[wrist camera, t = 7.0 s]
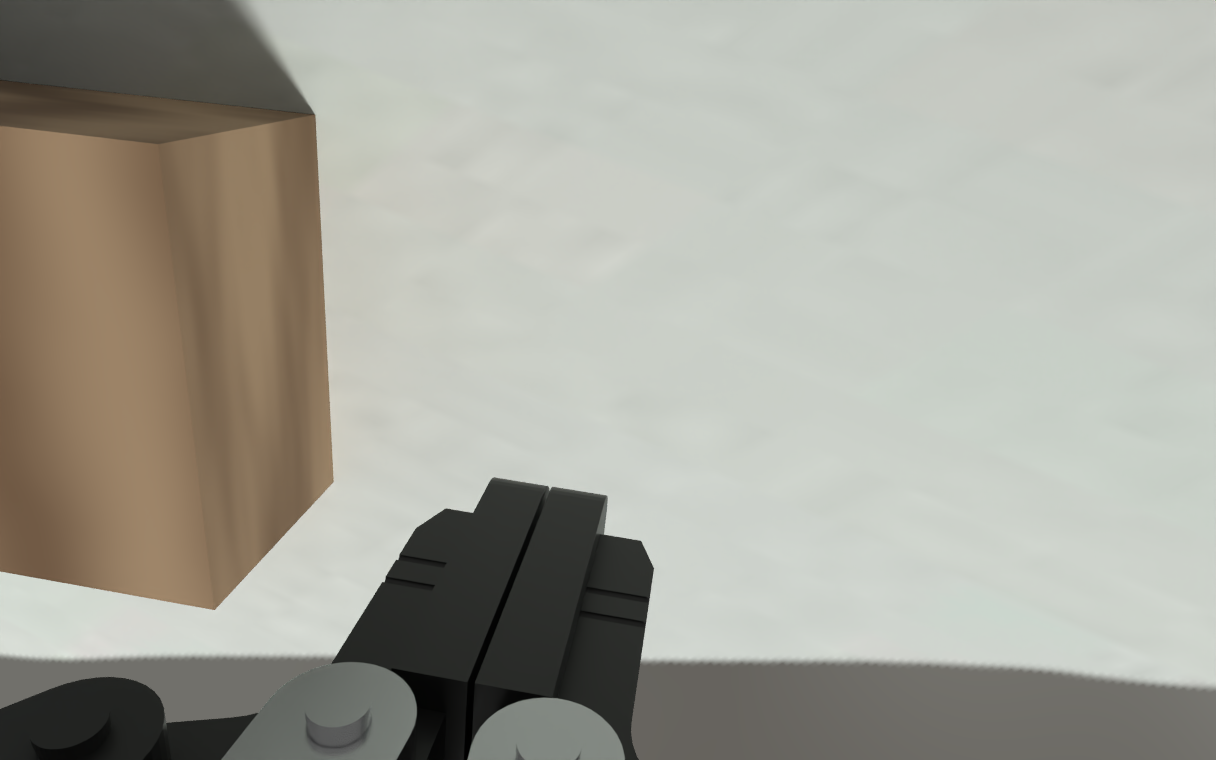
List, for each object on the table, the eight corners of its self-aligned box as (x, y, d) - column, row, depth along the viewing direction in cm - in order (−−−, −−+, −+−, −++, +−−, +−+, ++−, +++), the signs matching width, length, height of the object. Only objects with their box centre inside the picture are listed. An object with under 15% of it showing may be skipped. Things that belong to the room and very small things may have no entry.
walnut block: (18, 427, 25) (-186, 537, 20) (-57, 72, 21) (-339, 86, 16) (336, 478, 24) (214, 610, 19) (319, 114, 20) (158, 143, 15)
